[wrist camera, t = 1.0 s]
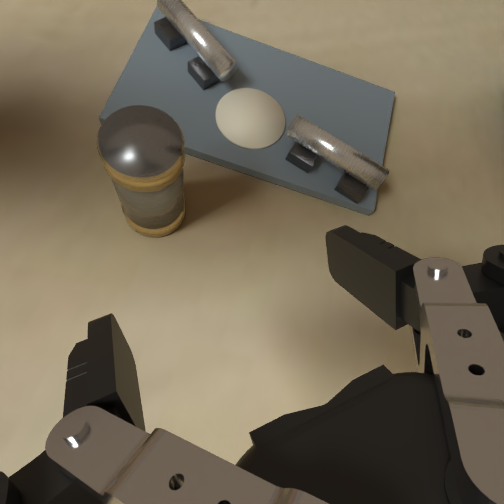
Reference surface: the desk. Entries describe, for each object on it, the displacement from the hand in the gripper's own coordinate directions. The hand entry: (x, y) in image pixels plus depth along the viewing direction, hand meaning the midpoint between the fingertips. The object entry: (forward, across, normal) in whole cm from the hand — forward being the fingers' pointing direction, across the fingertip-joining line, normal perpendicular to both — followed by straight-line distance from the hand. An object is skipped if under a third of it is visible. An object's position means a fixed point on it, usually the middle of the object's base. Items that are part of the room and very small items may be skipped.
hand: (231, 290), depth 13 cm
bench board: (+24, -12, -2) cm, 26 cm away
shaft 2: (+18, -15, +4) cm, 24 cm away
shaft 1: (+28, -8, -7) cm, 30 cm away
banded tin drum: (+19, +1, +3) cm, 19 cm away
